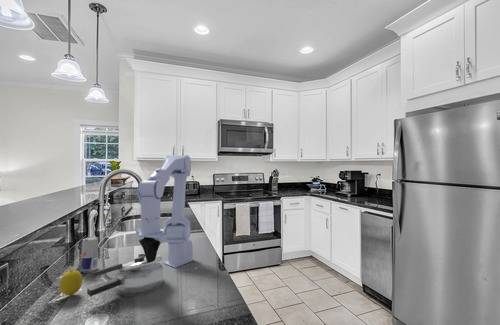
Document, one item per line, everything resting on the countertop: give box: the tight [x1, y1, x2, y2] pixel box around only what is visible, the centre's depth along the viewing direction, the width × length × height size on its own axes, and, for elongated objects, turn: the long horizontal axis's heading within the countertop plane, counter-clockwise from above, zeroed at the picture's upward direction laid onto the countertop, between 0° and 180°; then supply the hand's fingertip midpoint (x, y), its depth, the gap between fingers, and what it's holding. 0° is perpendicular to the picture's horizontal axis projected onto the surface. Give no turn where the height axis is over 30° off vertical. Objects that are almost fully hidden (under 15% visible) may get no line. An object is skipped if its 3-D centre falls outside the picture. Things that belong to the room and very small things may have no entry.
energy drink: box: [80, 236, 99, 274], centre depth 92 cm, size 5×5×12 cm
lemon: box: [59, 269, 83, 297], centre depth 73 cm, size 6×6×8 cm
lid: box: [90, 254, 163, 278], centre depth 77 cm, size 21×14×2 cm, turn 143°
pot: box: [86, 262, 164, 298], centre depth 76 cm, size 22×14×5 cm, turn 143°
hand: (151, 261), depth 76 cm, fingers closed
